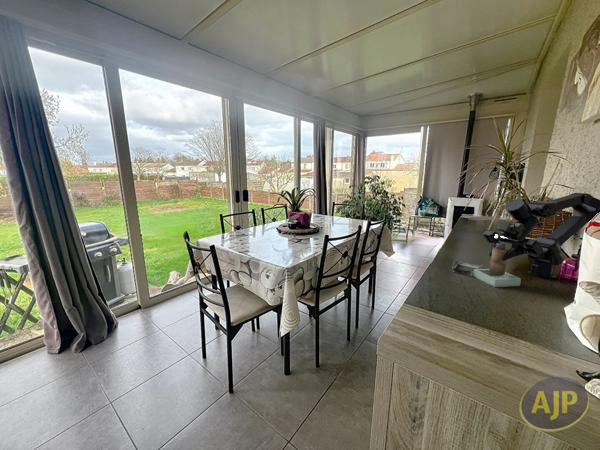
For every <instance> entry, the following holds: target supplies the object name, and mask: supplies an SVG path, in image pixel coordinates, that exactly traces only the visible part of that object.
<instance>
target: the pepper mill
mask: <svg viewBox="0 0 600 450" xmlns="http://www.w3.org/2000/svg"><path fill="white" fill-rule="evenodd" d="M506 244H507V243H506ZM506 244H505V243H504V242H502V243H496V247H494V248H493V249H492V256H490V264H489V265H490V266H489V269H490V271H489V272H490V273H491V274H494V275H499V276H503V275H504V274H505V272H506V265H507V260H505V261H503V260H502V258H503V256H504V255H505V254H506V253H507V252H508V250H509V249H507V248H506Z"/></svg>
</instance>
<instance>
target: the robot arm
mask: <svg viewBox="0 0 600 450" xmlns="http://www.w3.org/2000/svg"><path fill="white" fill-rule="evenodd" d="M568 208H569V209H570V208H572V215H571V216H570V217H569V218H568V219H567V220H566V221H564V222H563V223H562V224H561V225H560V226H558V227H557V228H556V229H555V230H554V231H553V232H551V233H550V234H549V235H548V236H547V237H541V236H538V237H536V238H535V239H532V238H530V237H531V233H532V232H533V231H534V229H536V228H542V223H541V219H539V218H542V219H549V218H551V217H554V216H555V215H557V213H558V211H563V210H566V209H568ZM504 209H505V211H506V212H507V213H508V215H509V216H510V217H511V218H512V219H513V220H514V221H515V223H511V222H505V221H499V222H498V224H497V227H496V228H495V229H496V231H492V230H485V231H484V232H483V233H482V236H483V237H484V239H485V240H486V241H487V242H488V243H489V244H491V246H490V249H489V254H488V256H489V257H491V256H492V249H493V248H494V247H496V243H504V244H505V243H506V244H510V245H511V246H510V248H509V249H508V252H507V253H506V254H505V255H504V256H503V258H502V260H503V261H505V260H506V261H507V260H510V259H513V258H515V257H518V256H521V255H527V258H528V259H529V260H530V259H531V260H532V264H531V267H530V271H527V274H529V275H532V276H535V277H538V278H540V279H557V278H558V276H556V275H554V272H555V271H554V270H555V267H556V266H560V265H562V264H563V262H564V259H563V257H562V256H561V246H562V245H563V244H565V243H566V242H567V241H568V240H569V239H570V238H572V237H573V236H574V235H575V234H576V233H577V232H578V231H580V230H581V229H582V228H583V227H585V226H586V225H587V224H588V223H590V222H589V221H590V220H591V219H592V218H593V217H594V216H595V215H596V214H597V213H599V212H600V198H598V197H597V198H596V197H594V196H592V194H590V193H587V192H586V193H585V192H573V193H570V194H568V195H565V196H561V197H557V198H554V199H550V200H544V201H543V200H537V201H531V202H529V203H528V202H527V201H526V199H525V198H523V197H518V198H517V199H515V200H511V201H510V202H508V203H506V204H505V205H504ZM497 231H500V234H501V235H502V236H501V235H499V234H498V233H497Z"/></svg>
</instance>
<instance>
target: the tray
mask: <svg viewBox="0 0 600 450" xmlns="http://www.w3.org/2000/svg"><path fill="white" fill-rule="evenodd" d="M489 271H490V268H481V269H477V268H473V272H474V273H473V276H472V277H474V278H476V279H477V280H479V281H481V282H484V283H485V284H487V285H489V286H491V287H493V288H503V287H504V288H505V287H521V282H522V281H521V280H522V278H520V277H518V276H517V275H514V274H511V273H509V272H506V271H505V274H504V275H503V276H499V275H494V274H491V273H490V272H489Z"/></svg>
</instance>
